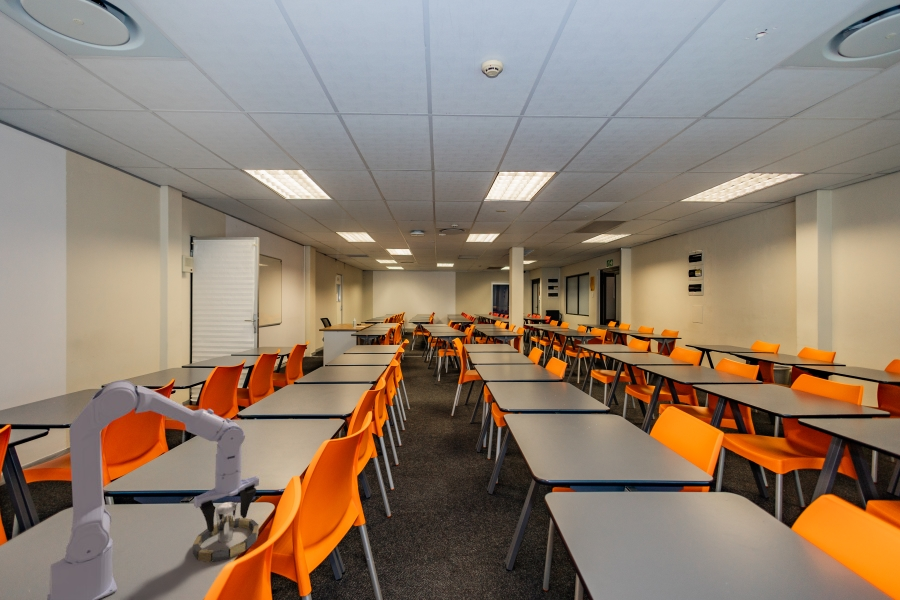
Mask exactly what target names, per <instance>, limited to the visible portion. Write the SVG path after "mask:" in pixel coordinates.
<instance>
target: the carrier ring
mask: <svg viewBox="0 0 900 600" xmlns="http://www.w3.org/2000/svg"><path fill="white" fill-rule="evenodd" d="M238 528H242V529H247V530H249V531H251V532H252V533H251V534H250V535H248V536H247V537H246V538H245V539H244V540H243V541H241V542H239V543H237V544H234V545H232V546H231V547H227V548H226V547H225V548H221V549H216V550H212V549H211V550H210V549H203V547H201V545H202V544H203V543H204V542H206V541H207V540H208V539H210V538H212V536H214V535H218V531H217V523H215V524H214V530H213V531H212V532H209V530H208V529H207V528H206V529H205V530H203V531H202V532H200V533H199V534H198V535H197V536H196V538H195V540H194V542H193V544H192V554H193V556H194V557H195V559H196V560H197V561H202V562H206V563H214V562H218V561H219V562H220V561H224V560H228V559H231V558H233V557H235V556H238V555H240V554H242V553H244V552H245V551H247V550H248V549H249V548H251V547H252V545H254V544H255V543H256V541H258V535H259V528H260V527H259V524H258V522H257V521H255V519H252V518H247V517H246V518H243V517H241V518H240V517H238V518H235V521H234V529H238Z"/></svg>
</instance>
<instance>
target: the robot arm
mask: <svg viewBox="0 0 900 600" xmlns="http://www.w3.org/2000/svg"><path fill="white" fill-rule="evenodd" d="M133 410H134V413H135V414H139V413H146V412H149V411H151V412H153V413H156V414H159V415H162V416H164V417H166V418H167V417H168V418H169V419H172V420H174V421H178V422H180V423H182V424H184V425H185V426H184V427H185V431H186V432H188V433H191V434H193V435H195V436H198V437H199V438H201V439H205V440H207V441H209V442H216V443H217V444H216V454H215V473H214V474H215V476H214V477H215V481H214V482H215V483H214V488H212V489H210V490H207V491H206V492H203V493H202V494H200V495H197V496H195V497H194V498H193V506H194V507H195V509H198V508H199V509H200V511H201V512H202V514H203V515H202V516H204V520H205V522H206V529H208V530H209V532H212V531H213V530H214V525H215V520H214V518H215V513H216V509H217V508H216V506H215V505H214V503H213V501H217V500H218V499H221V498H225V497H233V496H236V495H238V494H239V496H240V508H239V509H240V511H239V512H240V513H239V514H240V517H241V518H246V519H247V515H248V512H249V508H250V506H251V503H252V501H253V499H254V497H255V495H256V493H257V488H256V487H258V486H260V478H259V477H257V476H256V475H255V476H253V477H248V478H243V479H242V459H243V457H242V444H243V442H244V441H245V437H246V435H245V434H244V431H243V429H242V428H241V426H240V425H239V424H238V423H236V422H235V421H234V420H231V419H230V418H229V417H226V418H224V417H222V416H219V415H217V414H216V413H214V412H215V411H214V410H213V409H211V408H207V410H206V409H204V408H200V409H196V410H192V409H190V408H189V407H186V406H185V405H182V404H181V403H179V402H177V401H174V400H173V399H171V398H168V397H167V396H165V395H163V394H162V393H159V392H157V391H154V390H153V389H150V388H148V387H144V386H143V385H140V384H139V385H138V384H137V387H136V385H135V384H134V383H132V382H131V381H129V380H123V379H121V380H120V379H119V380H114V381H112V382H110V383H108V384H106V385H105V386H103V387H102V388H101V389H99V390H98V391H96V392H95V393H94V394H93V395H92V397H91V398H90V400H89V401H88V402H87V403H86V405H85V406H84V407H83V408H82V410H81V411H80V412H79V413H78V415H77V416H76V417H75V419H74V420H73V421H72V423H71V424H70V426H69V432H68V433H69V434H68V435H69V450H70V451H69V452H70V453H69V455H70V471H71V474H70V475H71V489H72V492H71V493H72V513H73V514H72V524H71V529H70V530H71V531H70V532H71V533H70V537H69V541H68V543H67V546H66V548H65V549H66V550H65V556H64V557H63V558H61V559H60V560H58V561H56V562H54V563H52V564H50V566H49V585H48V586H49V587H48V588H49V590H48V594H47V595H46V596H47V598H46V600H100V599H103V598H105V597H106V596H109V595H111V594H114V593H116V592H117V591H118V585H117V583H116V580H115V578H114V575H113V560H114V559H113V555H114V553H113V552H114V551H113V549H114V540H113V539H112V538H111V536H110V529H111V528H110V527H111V523H112V515H111V514H110V512H109V511H108V510H107V508H106V502H105V499H104V496H105V495H104V479H103V476H104V475H103V457H102V456H103V455H102V452H103V451H102V436H101V435H102V434H101V433H102V432H101V431H102V430H104V429H105V428H106V427H108V425H110V424H111V423H112V422H113V421H115V420H117V419H119V418H122V417H123V416H126V415H127V414H130V412H131V411H133Z"/></svg>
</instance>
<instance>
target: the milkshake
mask: <svg viewBox="0 0 900 600" xmlns="http://www.w3.org/2000/svg"><path fill="white" fill-rule="evenodd" d="M238 503H239V501H237V502H236V503H234V502H232V501H228V502H226V501H225V502H223V503H221V504H220V505H218V507H217V508H215V514H216V524H217V531H218V533H217V541H218V543H219V544H225V543H229V542H230V541H232V540H233V537H234V530H235V528H234V521H235V519H236V513H237V512H236V511H237V505H238Z"/></svg>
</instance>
